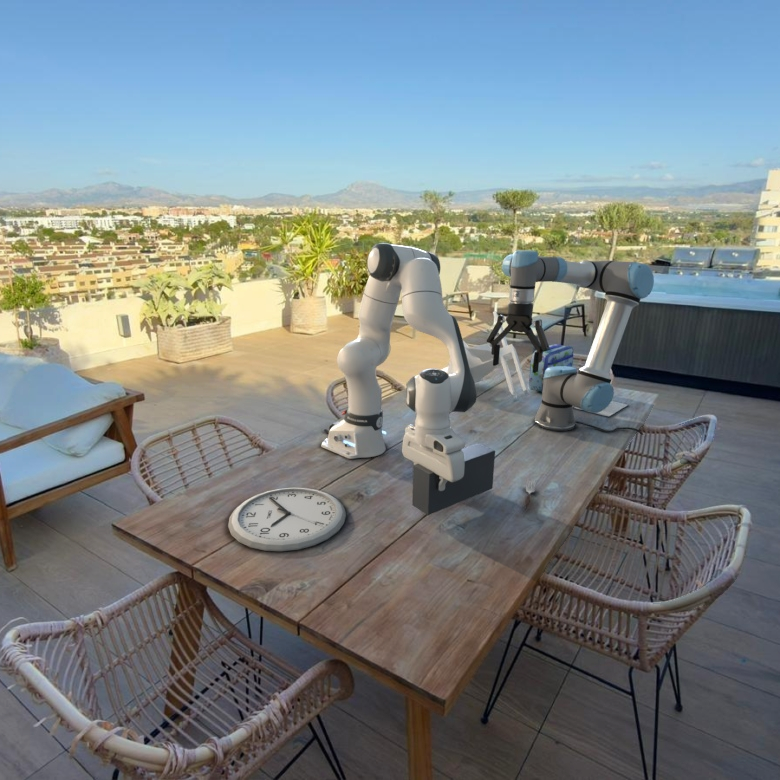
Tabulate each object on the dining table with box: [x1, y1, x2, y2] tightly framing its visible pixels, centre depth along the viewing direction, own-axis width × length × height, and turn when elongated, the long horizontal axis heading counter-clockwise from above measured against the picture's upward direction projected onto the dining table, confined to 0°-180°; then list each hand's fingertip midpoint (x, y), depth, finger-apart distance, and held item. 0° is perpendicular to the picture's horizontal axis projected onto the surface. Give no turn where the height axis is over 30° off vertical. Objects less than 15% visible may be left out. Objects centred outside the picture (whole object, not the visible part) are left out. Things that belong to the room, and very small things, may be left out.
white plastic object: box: [440, 310, 531, 400], centre depth 245 cm, size 37×45×31 cm
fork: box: [525, 478, 537, 511], centre depth 148 cm, size 3×16×2 cm, turn 160°
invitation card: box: [573, 400, 629, 418], centre depth 226 cm, size 21×1×15 cm
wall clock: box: [227, 487, 347, 552], centre depth 136 cm, size 30×2×30 cm
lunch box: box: [528, 344, 574, 393], centre depth 247 cm, size 26×11×21 cm, turn 134°
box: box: [411, 442, 496, 516], centre depth 141 cm, size 24×6×12 cm, turn 127°
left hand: (430, 483), depth 135 cm, fingers closed on box, 6 cm apart
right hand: (514, 368), depth 168 cm, fingers open, 13 cm apart
